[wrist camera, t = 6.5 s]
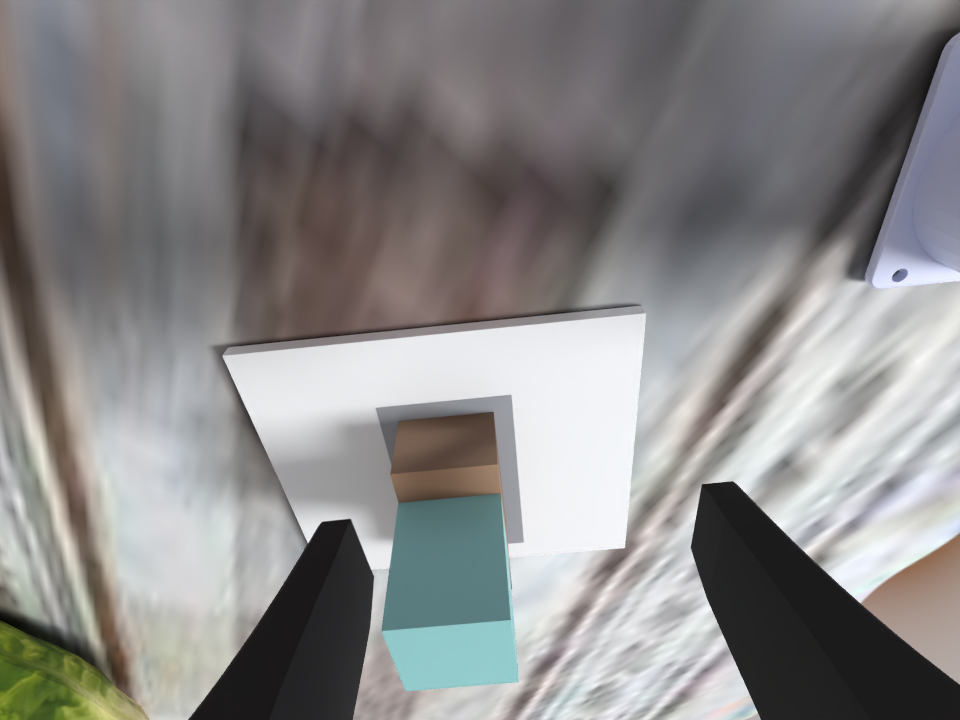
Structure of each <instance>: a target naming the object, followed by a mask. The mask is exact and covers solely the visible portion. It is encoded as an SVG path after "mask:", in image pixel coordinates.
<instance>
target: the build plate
mask: <svg viewBox="0 0 960 720" xmlns="http://www.w3.org/2000/svg"><path fill="white" fill-rule="evenodd" d="M645 321H646V312H645V310H644V309H643V307H642V305H641V306H631V307H622V308H612V309H602V310H592V311H582V312H572V313H562V314H552V315H543V316H533V317H523V318H513V319H503V320H493V321H483V322H473V323H464V324H454V325H444V326H434V327H424V328H414V329H404V330H395V331H385V332H375V333H365V334H355V335H345V336H335V337H325V338H316V339H306V340H296V341H286V342H276V343H266V344H256V345H246V346H237V347H228V348H227V350H226V351H225V353H224V354H223V359H224V361H225V363H226V365H227V367H228V369H229V372H230V374H231V376H232V378H233V380H234V383H235V385H236V387H237V389H238V391H239V394H240V396H241V398H242V400H243V402H244V404H245V407H246V409H247V411H248V413H249V415H250V418H251V420H252V422H253V424H254V426H255V428H256V431H257V433H258V435H259V437H260V439H261V442H262V444H263V446H264V448H265V450H266V453H267V455H268V457H269V459H270V461H271V463H272V466H273V468H274V470H275V472H276V474H277V477H278V479H279V481H280V483H281V485H282V487H283V490H284V492H285V494H286V496H287V498H288V501H289V503H290V505H291V507H292V509H293V511H294V514H295V516H296V518H297V520H298V522H299V525H300V527H301V529H302V531H303V533H304V536H305V538H306V540H307V542H308V543H309V541H310V539H311V538H312V536H313V534H314V532H315V531H316V529H317V527H318V526H319V525H320V523H321V522H323V521H333V520H343V519H351V520H352V523H353V526H354V528H355V531H356V533H357V536H358V538H359V541H360V543H361V546H362V548H363V551H364V553H365V556H366V558H367V561H368V563H369V566H370V568H371V570H373V569H385V568H390V561H391V554H392V546H393V538H394V531H395V523H396V515H397V507H398V500H397V496H396V493H395V489H394V486H393V482H392V479H391V475H390V473H391V467H392V460H393V454H394V447H395V441H396V434H397V428H398V421H404V420H414V419H425V418H435V417H446V416H456V415H467V414H477V413H488V412H494V419H495V428H496V437H497V446H498V455H499V464H500V473H501V482H502V491H503V500H504V509H505V518H506V527H507V537H508V549H509V558H513V557H524V556H536V555H548V554H559V553H571V552H582V551H594V550H606V549H617V548H625V540H626V529H627V518H628V507H629V496H630V485H631V474H632V463H633V452H634V441H635V430H636V420H637V409H638V398H639V387H640V376H641V365H642V354H643V343H644V332H645Z"/></svg>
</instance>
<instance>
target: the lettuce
mask: <svg viewBox="0 0 960 720" xmlns="http://www.w3.org/2000/svg"><path fill="white" fill-rule="evenodd" d="M0 720H149V718H148V717H147V715H146V714H145V712H144V710H143V709H142V707H141V706H140V705H139V704H137V703H136V702H135V701H133V700H132V699H131V698H129V697H128V696H127V695H125V694H124V693H123V692H121V691H120V690H119V689H117V688H116V686H115V685H114V684H113V683H112V682H111V681H110V680H109V679H108V678H107V677H106V676H105V675H104V674H103V673H102V672H101V671H100V670H98V669H97V668H96V667H94V666H93V665H91V664H90V663H88V662H87V661H85V660H84V659H82V658H81V657H79V656H77V655H75V654H73V653H71V652H69V651H67V650H65V649H63V648H61V647H59V646H57V645H55V644H52V643H50V642H47V641H45V640H42V639H40V638H37V637H34V636H32V635H29V634H27V633H25V632H23V631H21V630H19V629H17V628H15V627H13V626H11V625H9V624H7V623H5V622H3V621H1V620H0Z"/></svg>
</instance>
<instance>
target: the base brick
mask: <svg viewBox="0 0 960 720" xmlns="http://www.w3.org/2000/svg"><path fill="white" fill-rule="evenodd" d="M390 475H391V479H392V482H393V486H394V489H395V493H396V496H397V500H398V503H404V502H415V501H426V500H436V499H447V498H457V497H468V496H479V495H489V494H500V493H501V500H502V508H503V516H504V524H505V532H506V541H507V549H508V537H507V527H506V518H505V509H504V500H503V491H502V482H501V473H500V464H499V455H498V446H497V437H496V428H495V419H494V412H488V413H477V414H467V415H456V416H446V417H435V418H425V419H414V420H404V421H398V428H397V434H396V441H395V447H394V454H393V460H392V467H391V473H390ZM508 557H509V549H508ZM509 569H510V561H509ZM510 581H511V572H510ZM511 589H512V584H511Z"/></svg>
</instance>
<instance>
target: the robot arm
mask: <svg viewBox="0 0 960 720" xmlns="http://www.w3.org/2000/svg"><path fill="white" fill-rule="evenodd" d="M898 270H900V271H899V272H898V274H896V275H895V276H893V274H894V273H895V272H896V271H898ZM892 276H893V277H892ZM865 281H866V283H867V284H869V285H870V286H872V287H874V288H875V289H884V288H894V287H904V286H914V285H924V284H934V283H944V282H954V281H960V33H958V34H957V35H955V36H954V37H952V38H951V40H950V41H949V42H948V43H947V44H946V46H945V48H944V49H943V51H942V54H941V57H940V60H939V62H938V65H937V68H936V71H935V74H934V77H933V80H932V83H931V86H930V88H929V91H928V94H927V97H926V100H925V103H924V106H923V109H922V112H921V114H920V117H919V120H918V123H917V126H916V129H915V132H914V135H913V138H912V140H911V143H910V146H909V149H908V152H907V155H906V158H905V161H904V164H903V166H902V169H901V172H900V175H899V178H898V181H897V184H896V187H895V190H894V193H893V195H892V198H891V201H890V204H889V207H888V210H887V213H886V216H885V219H884V221H883V224H882V227H881V230H880V233H879V236H878V239H877V242H876V245H875V247H874V250H873V253H872V256H871V259H870V262H869V265H868V268H867V271H866V273H865ZM691 550H692V553H693V556H694V559H695V563H696V566H697V569H698V572H699V575H700V578H701V581H702V584H703V587H704V590H705V594H706V597H707V599H708V601H709V604H710V606H711V608H712V611H713V613H714V615H715V618H716V620H717V622H718V624H719V627H720V629H721V631H722V633H723V636H724V638H725V640H726V642H727V645H728V647H729V649H730V651H731V653H732V656H733V658H734V660H735V662H736V665H737V667H738V669H739V671H740V673H741V676H742V678H743V680H744V682H745V685H746V687H747V689H748V691H749V694H750V696H751V698H752V700H753V702H754V705H755V707H756V709H757V711H758V714H759V716H760V718H761V720H960V685H959V684H958V683H957V682H955V681H954V680H953V679H952V678H950V677H949V676H948V675H946V674H945V673H944V672H942V671H941V670H940V669H939V668H937V667H936V666H935V665H934V664H932V663H931V662H930V661H929V660H927V659H926V658H925V657H923V656H922V655H921V654H920V653H918V652H917V651H916V650H914V648H912V647H911V646H910V645H909V644H907V643H906V642H905V641H904V640H902V639H901V638H900V637H899V636H898V635H897V634H895V633H894V632H893V631H892V630H891V629H889V628H888V627H887V626H886V625H885V624H883V623H882V622H881V621H880V620H879V619H878V618H877V617H875V616H874V615H873V614H872V613H871V612H870V611H868V610H867V609H866V608H865V607H864V606H863V605H861V604H860V603H859V602H858V601H857V600H856V599H855V598H854V597H852V596H851V595H850V594H849V593H848V592H847V591H846V590H845V589H843V588H842V587H841V586H840V585H839V584H838V583H837V582H836V581H835V580H834V579H833V578H832V577H830V576H829V575H828V574H827V573H826V572H825V571H824V570H823V569H822V568H821V567H820V566H819V565H818V564H817V563H815V562H814V561H813V560H812V559H811V558H810V557H809V556H808V555H807V554H806V553H805V552H804V551H803V550H802V549H801V548H800V547H799V546H798V545H797V544H795V543H794V542H793V541H792V540H791V539H790V538H789V537H788V536H787V535H786V534H785V533H784V532H783V531H782V530H781V529H780V528H779V527H778V526H777V525H776V524H775V523H774V522H773V521H772V520H771V519H770V518H769V517H768V516H767V515H766V514H765V513H764V512H763V511H762V510H761V509H760V508H759V507H758V506H757V505H756V503H755V502H754V501H753V500H752V499H751V498H750V497H749V496H748V495H747V494H746V493H745V492H744V491H743V490H742V489H741V488H740V487H739V486H738V485H737V484H736V483H734V482H733V481H732V482H722V483H711V484H702V488H701V493H700V499H699V504H698V510H697V516H696V521H695V527H694V533H693V538H692V544H691ZM373 582H374V576H373V573H372V571H371V568H370V566H369V563H368V561H367V558H366V556H365V553H364V551H363V548H362V546H361V543H360V541H359V538H358V536H357V533H356V531H355V528H354V526H353V523H352V520H351V519H343V520H333V521H323V522H321V523H320V525H319V526H318V527H317V529H316V531H315V532H314V534H313V536H312V538H311V539H310V541H309V543H308V544H307V546H306V548H305V549H304V551H303V553H302V554H301V556H300V558H299V559H298V561H297V563H296V564H295V566H294V568H293V569H292V571H291V573H290V574H289V576H288V578H287V579H286V581H285V582H284V584H283V586H282V587H281V589H280V590H279V592H278V594H277V595H276V597H275V598H274V600H273V601H272V603H271V604H270V606H269V607H268V609H267V610H266V612H265V614H264V615H263V617H262V618H261V620H260V621H259V623H258V624H257V626H256V627H255V629H254V630H253V632H252V633H251V635H250V636H249V638H248V639H247V641H246V642H245V643H244V645H243V646H242V648H241V649H240V650H239V652H238V653H237V655H236V656H235V658H234V659H233V660H232V662H231V663H230V665H229V666H228V668H227V669H226V670H225V672H224V673H223V675H222V676H221V677H220V679H219V680H218V681H217V683H216V684H215V686H214V687H213V688H212V690H211V691H210V692H209V694H208V695H207V696H206V697H205V699H204V700H203V701H202V703H201V704H200V705H199V707H198V708H197V709H196V711H195V712H194V713H193V714H192V716H191V717H190V718H189V719H188V720H353V715H354V710H355V705H356V699H357V694H358V689H359V684H360V678H361V673H362V668H363V663H364V657H365V652H366V647H367V641H368V636H369V630H370V621H371V610H372V597H373Z"/></svg>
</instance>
